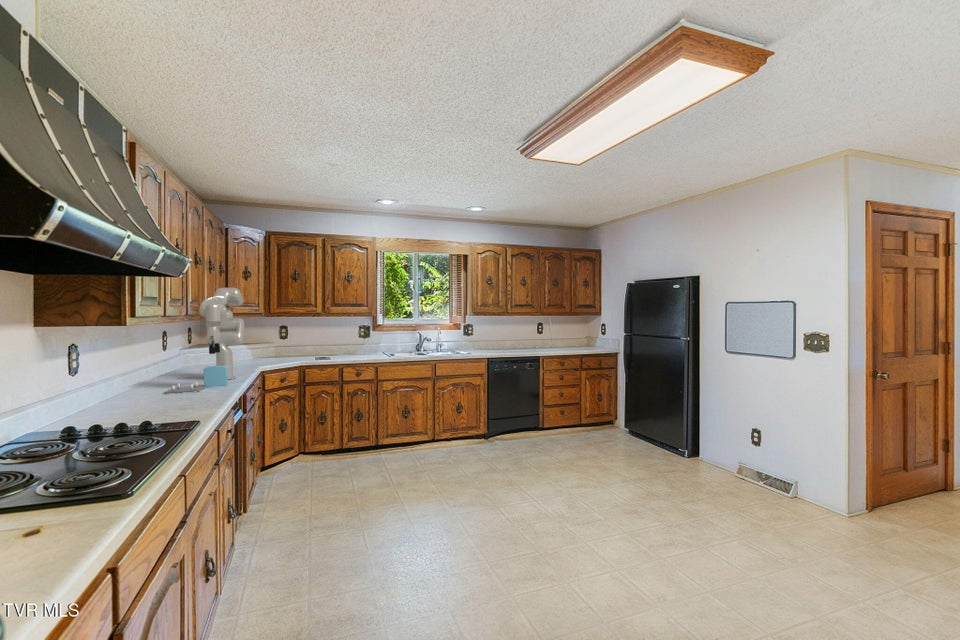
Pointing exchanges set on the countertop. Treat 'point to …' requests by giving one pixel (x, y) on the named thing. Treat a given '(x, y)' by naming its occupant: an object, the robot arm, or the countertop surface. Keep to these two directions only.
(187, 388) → the pin tray
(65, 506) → the countertop surface
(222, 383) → the light blue rounded slab
